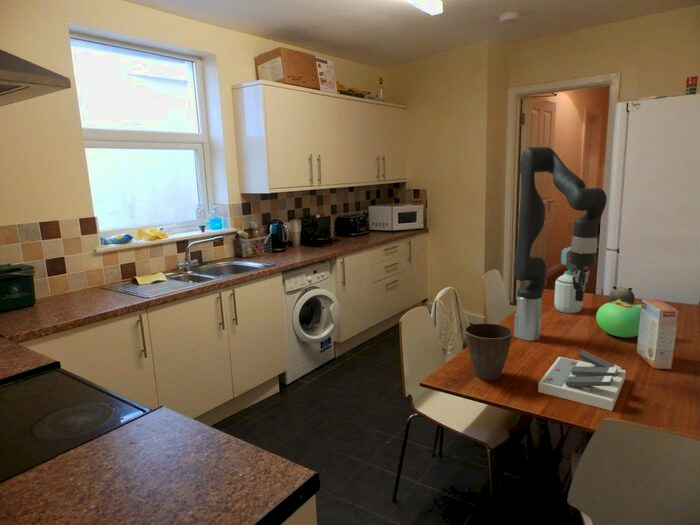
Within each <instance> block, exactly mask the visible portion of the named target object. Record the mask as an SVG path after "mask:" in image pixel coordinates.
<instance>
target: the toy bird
mask: <svg viewBox="0 0 700 525" xmlns="http://www.w3.org/2000/svg"><path fill="white" fill-rule="evenodd" d="M641 305H642V304H634V303H633V304H630V303H626V302H622V301H621V300H619V299H618V300H617V301H615V302H610V301H609V302H607V303H604V304H603V305H601V306H600V307H599V308H598V310H597V312H596V314H595V320H596V323H597V324H598V326H599V327H600V328H601V330H603V331H604V332H606V333H608V334H609V335H610V336H611V335H612V336H613V337H615V336H616V337H618V338H634V337H638V334H639V324H640V315H641Z"/></svg>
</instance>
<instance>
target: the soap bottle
mask: <svg viewBox="0 0 700 525" xmlns="http://www.w3.org/2000/svg"><path fill="white" fill-rule="evenodd" d="M570 252H571V246H568V247H565V248H563V249H561V257H560V262H561V264H562V265H563V266H566V269H567V270H565V271H564V273H563V274H562V275H560V276H559V277H557V278H556V280H555V282H554V299H553V300H554V302H553V304H554V307H555V309H556V310H558V312H561V313H564V314H577V313H579V312H581V310H582V308H583V307H584V306H583V305H584V300H583V301H581V302H580V301H576V300H575V295H576V290H575V289H574V286H573V279H572V278H573V277H574V270H575V269H576V265H573V264H571V263H570V262H569V263H568V256H569V255H568V254H569V253H570ZM583 299H584V297H583Z"/></svg>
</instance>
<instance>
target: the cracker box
mask: <svg viewBox="0 0 700 525" xmlns="http://www.w3.org/2000/svg"><path fill="white" fill-rule="evenodd" d="M640 305H641V315H640V324H639V334H638V335H637V344H636V354H637V355H638V356H639V357H640V358H642V359H643V360H644V361H645V362H646V363H647V364H648V365H649V366H650V367H651V368H652V369H655V370H656V369H658V370H672V367H673V360H674V353H675V344H676V337H677V336H676V335H677V328H678V319H679V312H680V311H679V310H678V309H677V308H675V307H673V306H671V305H669V304H668V303H666V302H664V300H661V299H657V298H642V299H641V304H640Z"/></svg>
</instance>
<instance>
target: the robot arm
mask: <svg viewBox="0 0 700 525" xmlns="http://www.w3.org/2000/svg"><path fill="white" fill-rule="evenodd" d="M545 172H547V173H549V174H550V175H552V183H553V185H554V187H555V188H556V189H557V190H558V191H559V192H561V194H562V195H564V196H565V199H566V200H567V203H568V205H569V206H570V207H571V209H573V210H575V211H579V212H581V211H582V212H584V211H586V212H585V214H584V215H583V216H580V217H578V218H575V220H574V221H573V228H572V229H573V230H572V236H571V243H570V247H571V251H570V252H569V253H570V255H569V263H571V264H573V265H576V267H575V269H573V271H574V277H573V278H572V279H573V286H574V289H575V290H576V295H575V300H576V301H580V302H581V301H583V302H584V298H583V297H584V294H585V289H586V287H587V285H588V281H589V280H588V279H589V276H590V273H591V272H590V269H589V267H593V266H595V265H596V261H597V252H598V251H597V249H598V231H599V230H598V229H599V228H598V227H599V223H600V220H601V219H602V216H603V213H604V210H605V208H606V205H607V202H608V201H607V200H608V199H607V195H606V192H605V191H604V189H602V188H600V187H590V188H589V187H586V183H585V182H584V180H583V179H582V178H580V177H579V176H578V175H577V174H575V173H574V172H572V171H571V170H570V169H569V168H568V166H566V164H565V163H564V162H563V161H562V160H561V158H560V157H559V155H558V154H557V153H556V151H554V150H553V149H552V148H550V147H546V146H536V147H534V146H531V147H526V148H524V150H522V153H521V156H520V202H519V203H520V204H519V213H518V231H517V232H518V233H517V234H518V235H517V244H516V251H515V256H514V261H513V273H514V276H515V279H517V280H518V281H521V282H524V281H525V282H526V283H525V284H524V285H522V286H520V287H519V288H518V289H517V295H516V296H517V297H516V313H515V314H514V326H513V327H514V328H513V337H514V338H517V339H520V340H523V341H529V342H531V341H538V340H540V339H541V323H542V320H541V319H542V303H543V300H542V299H543V293H544V291H545V284H546V276H547V275H546V274H547V266H546V265H547V264H546V263H545V260H544V258H542V257H541V256H536V255H535V256H531V251H532V248H533V247H532V246H533V244H534V243H535V241H536V240H537V238H538V236H539V234H540V233H541V232H542V230H543V228H544V226H545V220H546V219H545V217H546V205H545V203H544V201H543V198H542V196H541V194H540V193H539V192H538V189H537V188H536V180H535V176H536V173H545Z"/></svg>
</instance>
